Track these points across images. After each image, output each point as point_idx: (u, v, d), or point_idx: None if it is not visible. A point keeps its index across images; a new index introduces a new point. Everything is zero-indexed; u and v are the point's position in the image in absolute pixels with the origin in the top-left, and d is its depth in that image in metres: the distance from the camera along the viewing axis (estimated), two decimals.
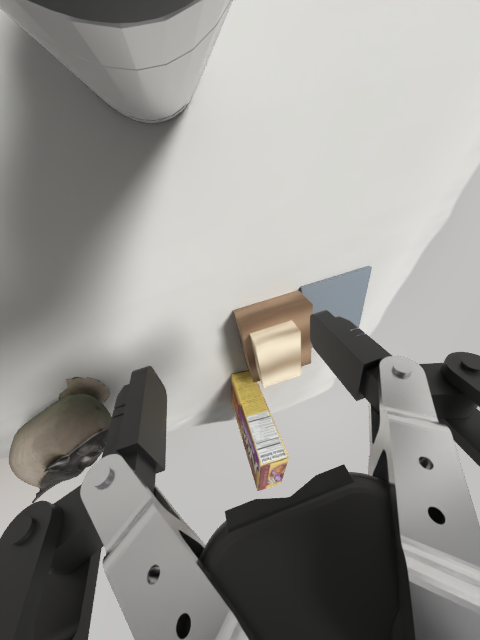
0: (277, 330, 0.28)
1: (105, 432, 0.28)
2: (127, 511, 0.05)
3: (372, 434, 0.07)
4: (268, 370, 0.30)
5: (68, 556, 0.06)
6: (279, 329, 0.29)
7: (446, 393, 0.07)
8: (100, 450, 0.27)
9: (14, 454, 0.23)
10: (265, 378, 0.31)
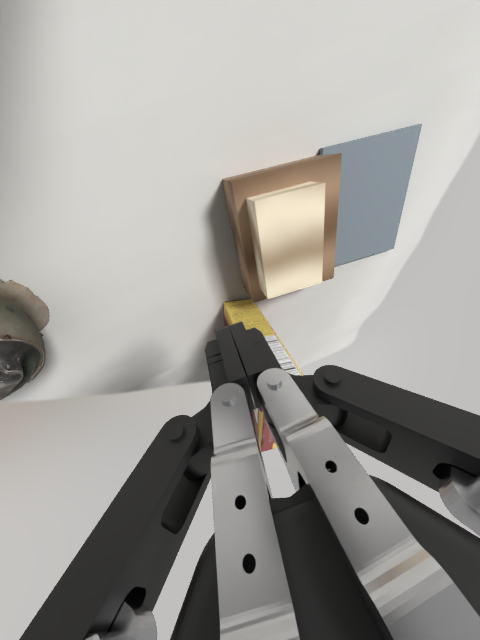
0: (288, 189, 0.18)
1: (20, 346, 0.18)
2: (235, 436, 0.06)
3: (281, 451, 0.08)
4: (275, 262, 0.20)
5: (192, 471, 0.07)
6: (292, 188, 0.18)
7: (310, 404, 0.07)
8: (7, 371, 0.17)
9: None
10: (270, 279, 0.21)
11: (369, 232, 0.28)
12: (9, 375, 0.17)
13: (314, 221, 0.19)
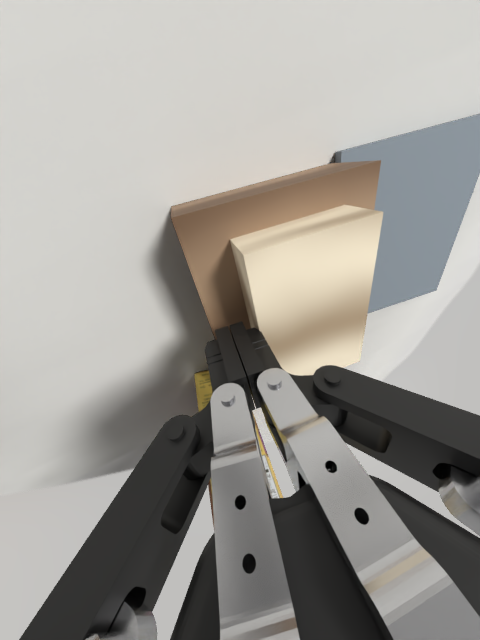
0: (308, 222, 0.10)
1: None
2: (235, 436, 0.06)
3: (281, 451, 0.08)
4: (285, 345, 0.12)
5: (192, 471, 0.07)
6: (315, 220, 0.10)
7: (310, 404, 0.07)
8: None
9: None
10: None
11: (405, 272, 0.19)
12: None
13: (356, 278, 0.10)
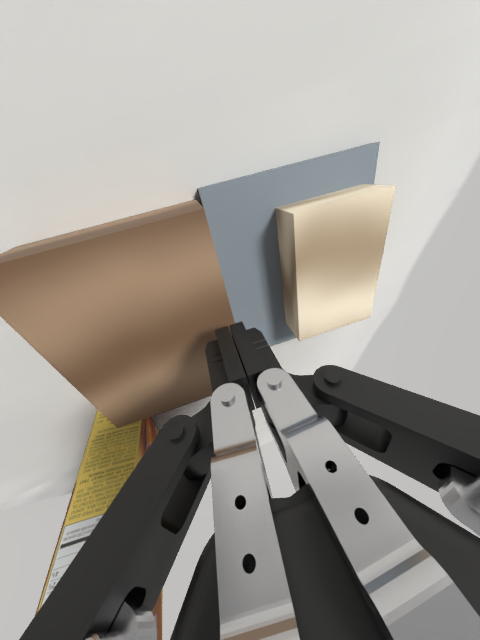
0: (326, 200, 0.13)
1: None
2: (235, 436, 0.06)
3: (281, 451, 0.08)
4: None
5: (192, 471, 0.07)
6: (321, 201, 0.12)
7: (310, 403, 0.07)
8: None
9: None
10: None
11: None
12: None
13: None
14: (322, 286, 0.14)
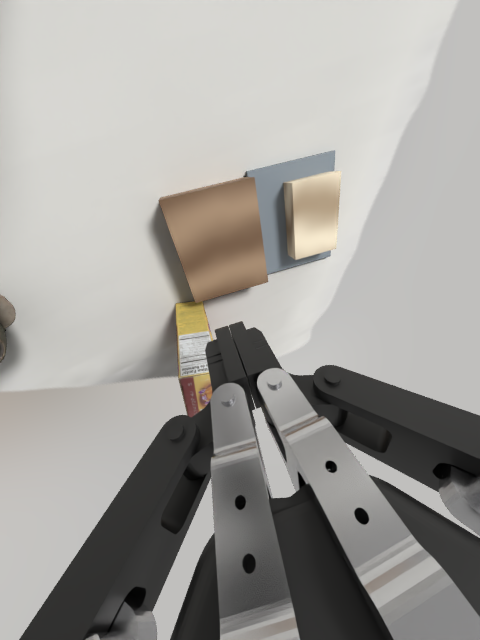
0: (308, 177, 0.26)
1: None
2: (235, 436, 0.06)
3: (281, 451, 0.08)
4: None
5: (192, 471, 0.07)
6: (305, 178, 0.26)
7: (310, 404, 0.07)
8: None
9: None
10: None
11: None
12: None
13: None
14: (307, 224, 0.28)
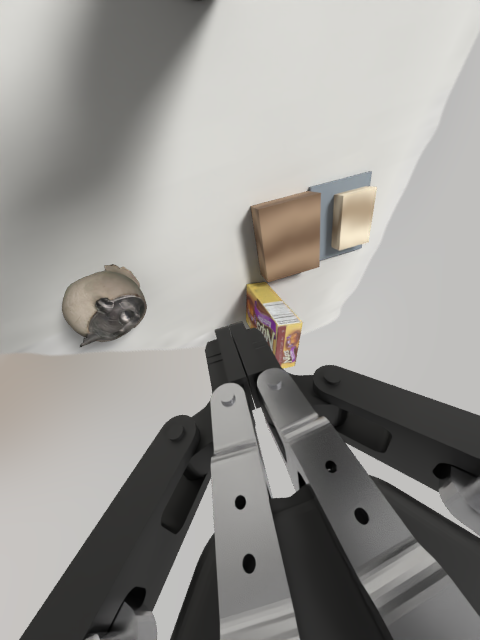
0: (353, 191, 0.36)
1: (140, 301, 0.32)
2: (235, 436, 0.06)
3: (281, 451, 0.08)
4: None
5: (192, 471, 0.07)
6: (351, 192, 0.36)
7: (310, 403, 0.07)
8: (136, 314, 0.31)
9: (68, 296, 0.28)
10: None
11: None
12: (136, 317, 0.32)
13: None
14: (350, 224, 0.38)
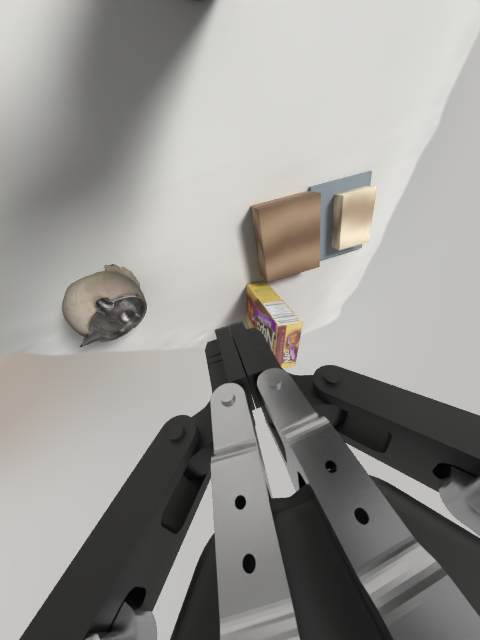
0: (353, 191, 0.36)
1: (140, 301, 0.32)
2: (235, 436, 0.06)
3: (281, 451, 0.08)
4: None
5: (192, 471, 0.07)
6: (351, 191, 0.36)
7: (310, 403, 0.07)
8: (136, 314, 0.31)
9: (69, 296, 0.28)
10: None
11: None
12: (136, 317, 0.32)
13: None
14: (350, 224, 0.38)
